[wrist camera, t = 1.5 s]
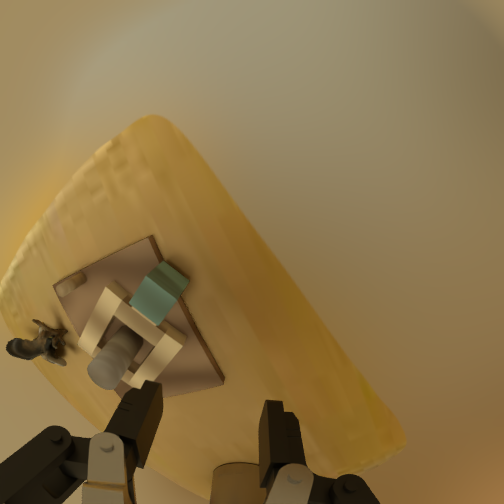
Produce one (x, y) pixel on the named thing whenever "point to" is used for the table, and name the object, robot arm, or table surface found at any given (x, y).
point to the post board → (130, 279)
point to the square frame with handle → (140, 321)
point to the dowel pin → (71, 284)
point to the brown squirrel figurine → (39, 345)
